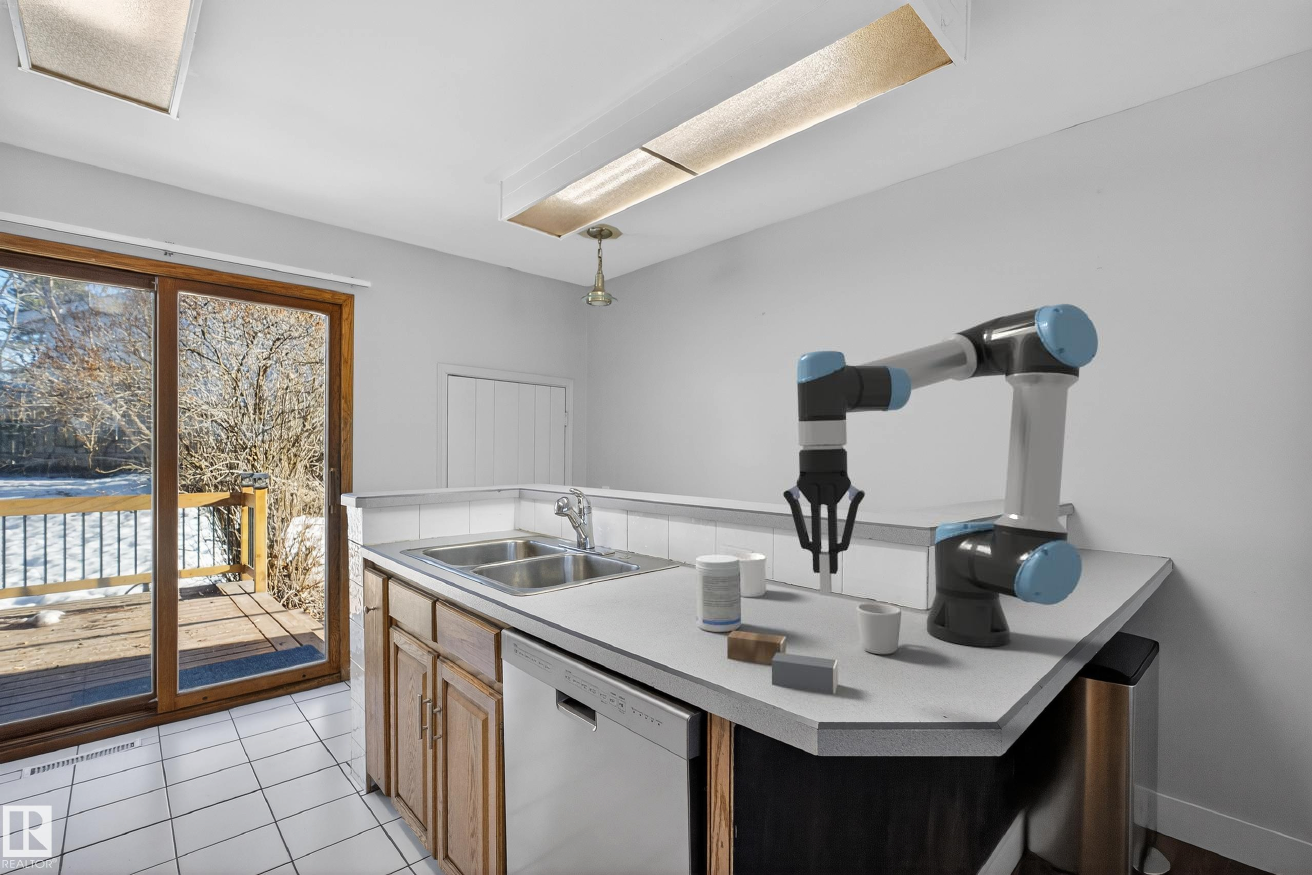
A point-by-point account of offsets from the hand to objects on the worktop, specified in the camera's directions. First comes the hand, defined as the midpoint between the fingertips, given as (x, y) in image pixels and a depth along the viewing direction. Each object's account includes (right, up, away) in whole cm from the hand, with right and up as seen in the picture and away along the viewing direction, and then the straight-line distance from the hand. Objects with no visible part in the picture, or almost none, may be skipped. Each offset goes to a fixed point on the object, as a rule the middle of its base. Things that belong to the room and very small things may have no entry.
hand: (826, 593), depth 99 cm
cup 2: (+16, -15, +18) cm, 28 cm away
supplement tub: (-14, -16, +32) cm, 39 cm away
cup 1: (-3, -16, +61) cm, 64 cm away
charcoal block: (+1, -13, -1) cm, 13 cm away
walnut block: (-4, -13, +11) cm, 18 cm away
